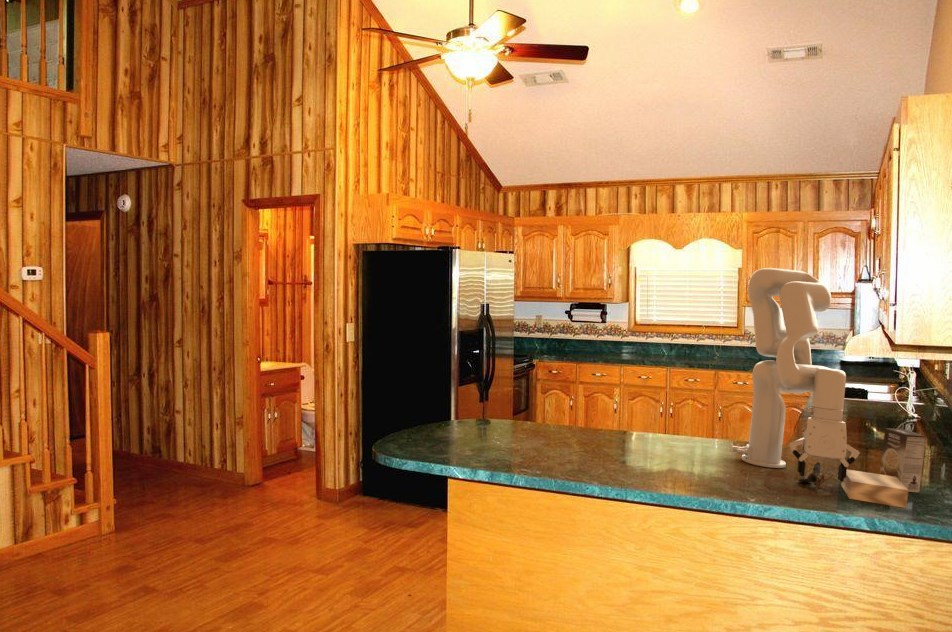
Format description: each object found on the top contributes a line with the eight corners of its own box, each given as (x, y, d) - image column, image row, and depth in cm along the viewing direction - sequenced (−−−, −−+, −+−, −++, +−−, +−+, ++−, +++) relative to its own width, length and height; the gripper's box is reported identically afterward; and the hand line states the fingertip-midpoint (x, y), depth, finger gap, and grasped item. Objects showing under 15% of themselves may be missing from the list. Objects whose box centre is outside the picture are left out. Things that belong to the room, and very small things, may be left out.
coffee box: (877, 482, 205) (883, 427, 204) (897, 483, 206) (904, 428, 205) (899, 491, 196) (905, 434, 195) (920, 493, 197) (927, 435, 196)
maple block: (849, 500, 184) (851, 481, 183) (840, 486, 198) (842, 468, 197) (906, 509, 179) (908, 489, 179) (893, 494, 193) (895, 476, 193)
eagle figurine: (839, 488, 188) (825, 473, 197) (828, 466, 187) (815, 452, 196) (811, 500, 190) (799, 485, 199) (800, 478, 189) (788, 464, 197)
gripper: (794, 412, 188) (788, 476, 188) (866, 420, 184) (860, 485, 184) (789, 409, 195) (783, 470, 196) (858, 416, 191) (852, 479, 191)
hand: (821, 477), depth 190 cm, fingers open, 9 cm apart
